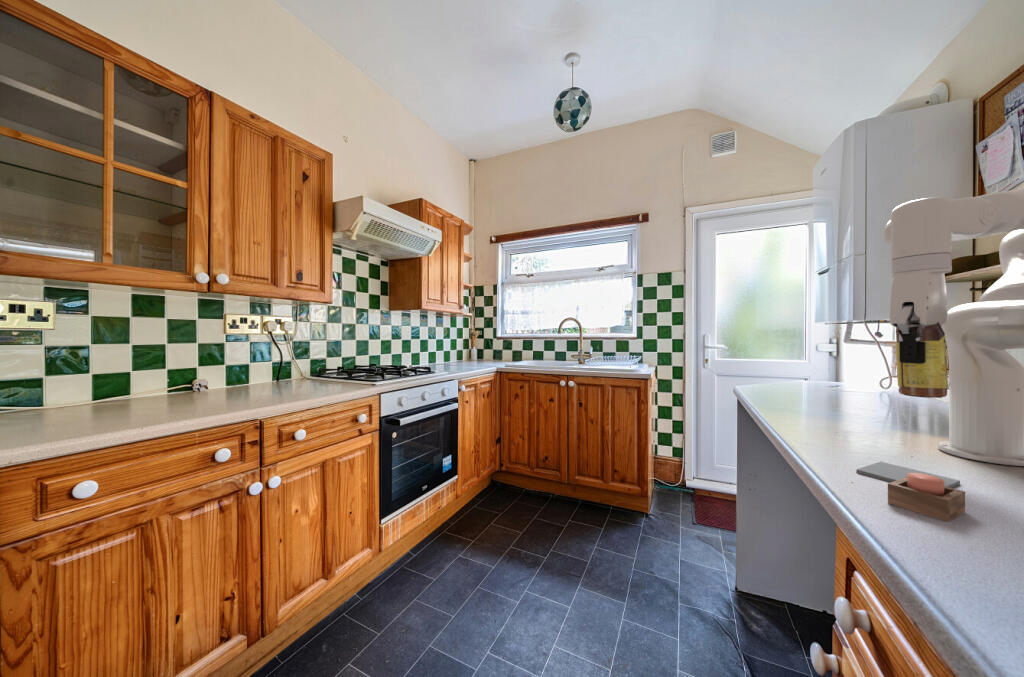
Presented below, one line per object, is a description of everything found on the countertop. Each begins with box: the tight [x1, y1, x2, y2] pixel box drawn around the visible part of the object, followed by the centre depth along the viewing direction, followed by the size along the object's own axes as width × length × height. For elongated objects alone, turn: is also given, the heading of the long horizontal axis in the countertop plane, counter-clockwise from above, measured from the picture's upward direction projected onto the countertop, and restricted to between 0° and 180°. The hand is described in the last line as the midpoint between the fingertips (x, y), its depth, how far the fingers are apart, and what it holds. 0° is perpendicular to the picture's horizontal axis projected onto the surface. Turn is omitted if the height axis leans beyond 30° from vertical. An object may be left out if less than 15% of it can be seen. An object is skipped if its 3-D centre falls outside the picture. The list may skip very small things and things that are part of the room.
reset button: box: [907, 473, 944, 497], centre depth 53 cm, size 4×4×2 cm
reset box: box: [887, 477, 966, 523], centre depth 53 cm, size 6×6×3 cm
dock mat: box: [855, 461, 961, 489], centre depth 63 cm, size 9×10×1 cm
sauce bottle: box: [895, 322, 949, 399], centre depth 67 cm, size 6×6×20 cm
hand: (920, 361), depth 67 cm, fingers closed on sauce bottle, 6 cm apart
